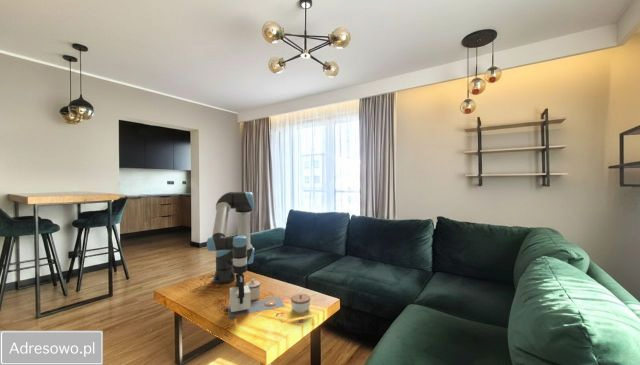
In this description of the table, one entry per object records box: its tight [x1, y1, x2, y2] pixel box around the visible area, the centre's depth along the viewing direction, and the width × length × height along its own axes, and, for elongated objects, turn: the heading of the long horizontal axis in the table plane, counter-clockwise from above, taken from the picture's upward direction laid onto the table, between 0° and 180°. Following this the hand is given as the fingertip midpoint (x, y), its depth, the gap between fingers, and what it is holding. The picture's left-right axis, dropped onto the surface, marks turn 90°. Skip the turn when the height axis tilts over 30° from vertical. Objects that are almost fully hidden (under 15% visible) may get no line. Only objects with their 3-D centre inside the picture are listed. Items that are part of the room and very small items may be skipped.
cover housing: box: [229, 285, 252, 312], centre depth 145 cm, size 10×10×9 cm
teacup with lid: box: [244, 278, 261, 301], centre depth 161 cm, size 12×9×12 cm
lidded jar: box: [290, 293, 311, 314], centre depth 146 cm, size 11×11×9 cm
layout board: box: [227, 296, 286, 320], centre depth 149 cm, size 13×30×1 cm, turn 113°
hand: (239, 304), depth 145 cm, fingers closed on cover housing, 10 cm apart
